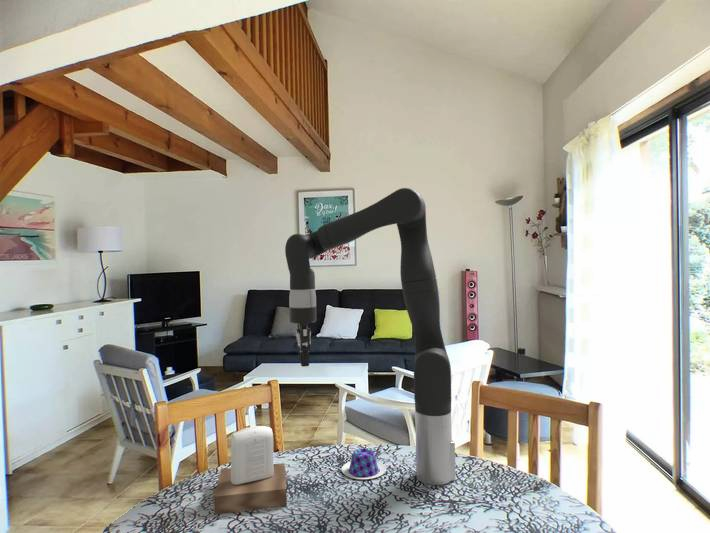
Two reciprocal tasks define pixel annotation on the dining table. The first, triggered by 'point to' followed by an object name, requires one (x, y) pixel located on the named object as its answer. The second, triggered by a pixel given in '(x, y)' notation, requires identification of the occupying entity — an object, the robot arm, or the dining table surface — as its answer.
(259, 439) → the photo printer
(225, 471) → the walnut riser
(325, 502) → the dining table surface
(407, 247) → the robot arm
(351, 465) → the pudding
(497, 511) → the dining table surface
